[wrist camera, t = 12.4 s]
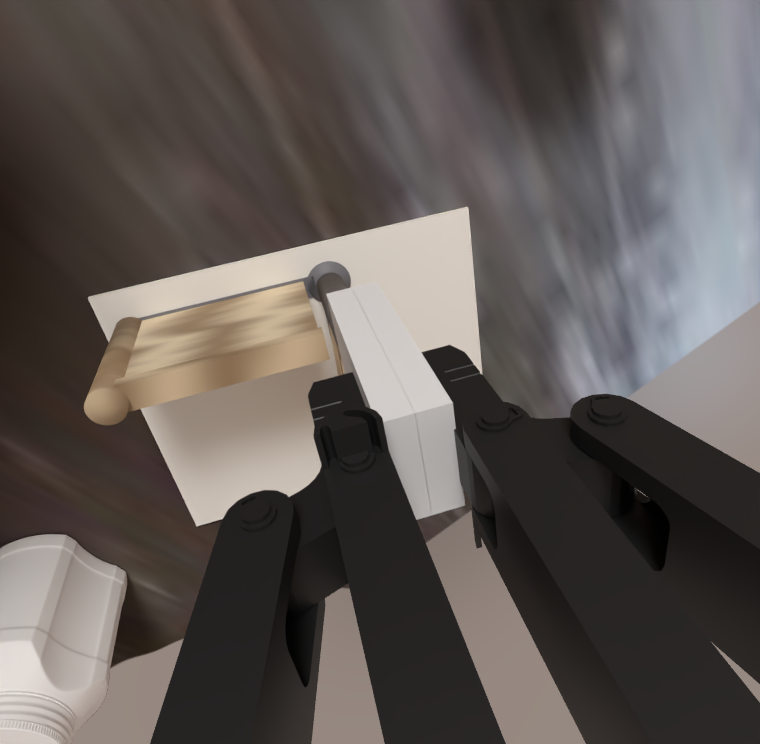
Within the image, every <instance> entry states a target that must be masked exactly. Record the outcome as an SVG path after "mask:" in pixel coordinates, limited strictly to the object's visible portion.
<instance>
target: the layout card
mask: <svg viewBox="0 0 760 744" xmlns="http://www.w3.org/2000/svg"><path fill="white" fill-rule="evenodd" d="M326 273H336V274H338V275H340V276H341V277H342V279H343V281H344V283H345V285H346V287H347V289H348V288H352V287H356V286H360V285H364V284H368V283H372V282H376V281H377V282H378V284H379V286H380V287H381V289H382V290H383V292H384V294H385V295H386V297H387V298H388V300H389V302H390V303H391V305H392V306H393V308H394V310H395V311H396V313H397V314H398V316H399V318H400V319H401V321H402V322H403V324H404V326H405V327H406V329H407V330H408V332H409V334H410V335H411V337H412V338H413V340H414V342H415V343H416V345H417V346H418V348H419V350H420V351H421V352H424V351H428V350H432V349H436V348H439V347H443V346H447V345H451V346H453V347H455V348H458V349H460V350H462V351H464V352H465V353H466V354H467V355H468V357H469V358H470V359H471V361H472V362H473V364H474V365H475V366H476V367H477V369H478V370H479V371H480V374H482V366H481V354H480V342H479V330H478V318H477V306H476V294H475V282H474V270H473V258H472V246H471V234H470V222H469V210H468V207H464V208H459V209H455V210H451V211H447V212H443V213H438V214H434V215H430V216H426V217H422V218H417V219H413V220H409V221H405V222H401V223H396V224H392V225H388V226H384V227H379V228H375V229H371V230H367V231H363V232H358V233H354V234H350V235H346V236H342V237H337V238H333V239H329V240H325V241H321V242H316V243H312V244H308V245H304V246H299V247H295V248H291V249H287V250H283V251H278V252H274V253H270V254H266V255H262V256H257V257H253V258H249V259H245V260H241V261H236V262H232V263H228V264H224V265H220V266H215V267H211V268H207V269H203V270H198V271H194V272H190V273H186V274H182V275H177V276H173V277H169V278H165V279H161V280H156V281H152V282H148V283H144V284H140V285H135V286H131V287H127V288H123V289H118V290H114V291H110V292H106V293H102V294H97V295H93V296H89V297H88V300H89V302H90V304H91V306H92V308H93V310H94V312H95V315H96V317H97V319H98V321H99V323H100V325H101V327H102V329H103V331H104V333H105V335H106V338H107V340H108V342H109V341H110V339H111V336H112V334H113V331H114V329H115V326H116V324H117V323H118V321H120V320H121V319H123V318H126V317H135V318H138V319H140V320H146V319H150V318H155V317H159V316H163V315H167V314H171V313H175V312H179V311H183V310H187V309H191V308H195V307H200V306H204V305H208V304H212V303H216V302H220V301H224V300H228V299H232V298H236V297H240V296H245V295H249V294H253V293H257V292H261V291H265V290H269V289H273V288H277V287H281V286H285V285H290V284H294V283H298V282H302V281H303V283H304V286H305V289H306V292H307V295H308V298H309V302H310V305H311V308H312V311H313V314H314V318H315V321H316V324H317V327H318V328H320V327H321V328H322V331H323V334H324V338H325V342H326V346H327V350H328V354H329V358H330V359H329V360H326V361H322V362H318V363H314V364H310V365H306V366H303V367H299V368H295V369H291V370H287V371H283V372H280V373H276V374H272V375H268V376H264V377H260V378H257V379H253V380H249V381H245V382H241V383H237V384H234V385H230V386H226V387H222V388H218V389H214V390H211V391H207V392H203V393H199V394H195V395H191V396H188V397H184V398H180V399H176V400H172V401H168V402H165V403H161V404H157V405H153V406H149V407H145V408H142V409H141V411H142V413H143V415H144V417H145V419H146V421H147V423H148V425H149V428H150V430H151V432H152V434H153V436H154V438H155V440H156V442H157V444H158V446H159V448H160V451H161V453H162V455H163V457H164V459H165V461H166V463H167V465H168V467H169V469H170V471H171V474H172V476H173V478H174V480H175V482H176V484H177V486H178V488H179V490H180V492H181V494H182V497H183V499H184V501H185V503H186V505H187V507H188V509H189V511H190V513H191V515H192V517H193V520H194V522H195V524H196V526H200V525H203V524H207V523H210V522H214V521H217V520H221V519H223V518H224V516H225V514H226V512H227V511H228V509H229V508H230V507H231V506H233V505H234V504H235V503H236V502H237V501H238V500H240V499H241V498H243V497H245V496H247V495H249V494H251V493H255V492H259V491H263V490H277V491H279V492H282V493H284V494H287V495H288V497H290V496H292V495H293V494H295V493H297V492H299V491H300V490H302V489H303V488H305V487H306V486H308V485H309V484H310V483H311V482H312V481H313V480H314V479H315V478H316V476H317V475H318V473H319V472H320V469H321V466H322V465H321V461H320V458H319V455H318V451H317V448H316V444H315V441H314V437H313V435H314V428H315V426H314V422H313V417H312V413H311V408H310V404H309V399H308V394H309V391H310V389H311V387H312V384H313V382H317V381H320V380H324V379H328V378H332V377H335V376H338V373H337V367H336V361H335V356H334V350H333V345H332V339H331V334H330V328H329V322H328V319H327V316H326V313H325V311H324V308H323V305H322V302H321V299H320V297H319V294H318V291H317V281H318V279H319V278H320V277H321V276H322V275H324V274H326Z"/></svg>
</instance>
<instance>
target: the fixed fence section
mask: <svg viewBox="0 0 760 744" xmlns="http://www.w3.org/2000/svg"><path fill="white" fill-rule="evenodd" d="M329 359H330V358H329V354H328V350H327V346H326V342H325V338H324V334H323V331H322V328H321V327H320V328H318V327H317V324H316V321H315V318H314V314H313V311H312V308H311V305H310V302H309V298H308V295H307V292H306V289H305V286H304V283H303V281H302V282H298V283H294V284H290V285H285V286H281V287H277V288H273V289H269V290H265V291H261V292H257V293H253V294H249V295H245V296H240V297H236V298H232V299H228V300H224V301H220V302H216V303H212V304H208V305H204V306H200V307H195V308H191V309H187V310H183V311H179V312H175V313H171V314H167V315H163V316H159V317H155V318H150V319H146V320H140V319H138V318H135V317H126V318H123V319H121V320H120V321H118V323H117V324H116V326H115V329H114V331H113V334H112V336H111V339H110V341H109V344H108V346H107V349H106V351H105V354H104V356H103V359H102V361H101V364H100V366H99V369H98V371H97V374H96V376H95V378H94V381H93V383H92V386H91V388H90V391H89V393H88V396H87V398H86V401H85V404H84V410H85V413H86V415H87V416H88V417H89V418H90V419H91V420H92V421H94V422H96V423H98V424H102V425H113V424H117V423H119V422H121V421H122V420H123V419H124V418H125V417H126V415H127V412H130V411H134V410H138V409H142V408H145V407H149V406H153V405H157V404H161V403H165V402H168V401H172V400H176V399H180V398H184V397H188V396H191V395H195V394H199V393H203V392H207V391H211V390H214V389H218V388H222V387H226V386H230V385H234V384H237V383H241V382H245V381H249V380H253V379H257V378H260V377H264V376H268V375H272V374H276V373H280V372H283V371H287V370H291V369H295V368H299V367H303V366H306V365H310V364H314V363H318V362H322V361H326V360H329Z"/></svg>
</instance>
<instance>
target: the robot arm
mask: <svg viewBox="0 0 760 744" xmlns="http://www.w3.org/2000/svg"><path fill="white" fill-rule="evenodd" d="M326 295H327V300H328V304H329V308H330V312H331V317H332V321H333V325H334V329H335V334H336V338H337V342H338V346H339V351H340V355H341V359H342V364H343V368H344V372H345V374H343V375H339V376H335V377H332V378H328V379H324V380H320V381H317V382H313V384H312V387H311V389H310V391H309V394H308V399H309V404H310V408H311V413H312V417H313V422H314V426H315V428H314V435H313V437H314V441H315V444H316V448H317V451H318V455H319V458H320V461H321V465H322V466H321V469H320V472H319V473H318V475H317V476H316V478H315V479H314V480H313V481H312V482H311V483H310V484H309V485H308V486H306V487H305V488H303V489H302V490H300V491H299V492H297V493H295V494H293V495H292V496H290V497H288V495H287V494H284V493H282V492H279V491H277V490H263V491H259V492H255V493H251V494H249V495H247V496H245V497H243V498H241V499H240V500H238V501H237V502H236V503H235V504H234V505H233V506H231V507H230V508H229V509H228V511H227V512H226V514H225V516H224V518H223V520H222V522H221V525H220V528H219V531H218V535H217V538H216V541H215V544H214V547H213V550H212V553H211V556H210V559H209V563H208V566H207V569H206V572H205V575H204V578H203V581H202V584H201V587H200V590H199V594H198V597H197V600H196V603H195V606H194V609H193V612H192V615H191V618H190V621H189V625H188V628H187V631H186V634H185V637H184V640H183V643H182V646H181V650H180V653H179V656H178V659H177V662H176V665H175V668H174V671H173V674H172V678H171V681H170V684H169V687H168V690H167V693H166V696H165V699H164V702H163V705H162V709H161V712H160V715H159V718H158V721H157V724H156V727H155V730H154V733H153V737H152V739H151V743H150V744H311V741H312V731H313V721H314V711H315V701H316V691H317V681H318V672H319V662H320V652H321V642H322V632H323V621H324V612H325V598H326V597H327V596H329V595H330V594H332V593H334V592H335V591H337V590H338V589H340V588H341V587H343V586H344V585H346V584H348V583H349V587H350V592H351V596H352V600H353V605H354V609H355V614H356V618H357V623H358V627H359V631H360V636H361V640H362V645H363V649H364V653H365V658H366V662H367V667H368V671H369V676H370V680H371V685H372V689H373V693H374V698H375V702H376V706H377V711H378V715H379V720H380V725H381V729H382V733H383V737H384V742H385V744H506V743H505V741H504V738H503V736H502V734H501V731H500V729H499V726H498V723H497V721H496V718H495V716H494V713H493V711H492V708H491V706H490V703H489V701H488V698H487V696H486V693H485V691H484V688H483V686H482V683H481V681H480V678H479V676H478V673H477V671H476V668H475V666H474V663H473V661H472V658H471V656H470V653H469V651H468V648H467V646H466V643H465V641H464V638H463V636H462V633H461V631H460V629H459V626H458V623H457V621H456V618H455V616H454V613H453V611H452V608H451V605H450V603H449V601H448V598H447V596H446V593H445V590H444V588H443V586H442V583H441V580H440V578H439V575H438V573H437V570H436V568H435V566H434V563H433V560H432V558H431V555H430V553H429V550H428V548H427V546H426V543H425V540H424V538H423V535H422V533H421V530H420V528H419V525H418V523H417V520H418V519H421V518H424V517H428V516H431V515H434V514H438V513H441V512H444V511H448V510H451V509H455V508H458V507H461V506H465V501H464V492H463V489H464V491H465V493H466V494H467V496H468V498H469V500H470V502H471V509H472V518H473V526H474V535H475V542H476V547H477V548H480V547H482V543H481V538H482V540H483V541H484V544H485V546H486V548H487V550H488V552H489V554H490V555H491V558H492V560H493V561H494V563H495V565H496V567H497V569H498V571H499V573H500V575H501V577H502V579H503V581H504V583H505V585H506V587H507V589H508V591H509V593H510V595H511V597H512V599H513V601H514V603H515V605H516V607H517V609H518V611H519V613H520V615H521V617H522V618H523V621H524V622H525V624H526V626H527V628H528V630H529V632H530V634H531V636H532V638H533V640H534V642H535V644H536V646H537V648H538V650H539V652H540V654H541V656H542V658H543V660H544V662H545V663H546V666H547V668H548V670H549V672H550V674H551V676H552V678H553V679H554V681H555V684H556V685H557V687H558V689H559V691H560V693H561V695H562V697H563V699H564V701H565V703H566V705H567V707H568V709H569V711H570V713H571V715H572V717H573V719H574V721H575V723H576V725H577V727H578V729H579V731H580V733H581V734H582V737H583V739H584V741H585V743H586V744H760V703H759V701H758V700H757V699H756V698H755V696H754V695H753V694H752V693H751V691H750V690H749V689H748V688H747V686H746V685H745V684H744V683H743V681H742V680H741V679H740V678H739V676H738V675H737V674H736V673H735V672H734V670H733V669H732V668H731V667H730V665H729V664H728V663H727V661H726V660H725V659H724V658H723V656H722V655H721V654H720V653H719V651H718V650H717V649H716V648H715V646H714V645H713V644H715V645H716V646H717V647H718V648H719V649H720V650H721V651H723V652H724V653H725V654H726V655H727V656H728V657H730V658H731V659H732V660H733V661H734V662H735V663H736V664H738V665H739V666H740V667H741V668H742V669H743V670H744V671H745V672H747V673H748V674H749V675H750V676H751V677H753V678H754V679H755V680H756V681H757V682H758V683H759V684H760V473H759V472H756V471H755V470H753V469H752V468H750V467H748V466H746V465H745V464H743V463H741V462H739V461H737V460H736V459H734V458H732V457H730V456H728V455H727V454H725V453H723V452H722V451H720V450H718V449H716V448H714V447H713V446H711V445H709V444H708V443H705V442H704V441H702V440H700V439H699V438H697V437H695V436H693V435H692V434H690V433H688V432H686V431H684V430H683V429H681V428H679V427H677V426H676V425H674V424H672V423H670V422H669V421H667V420H665V419H664V418H662V417H660V416H658V415H656V414H655V413H653V412H651V411H649V410H648V409H646V408H644V407H642V406H640V405H639V404H637V403H635V402H634V401H631V400H629V399H626V398H624V397H621V396H616V395H610V394H599V395H591V396H588V397H585V398H582V399H580V400H579V401H578V402H576V403H575V404H574V405H573V407H572V409H571V412H570V418H553V419H536V418H531V417H530V416H529V415H528V414H527V412H525V411H524V410H523V409H522V408H520V407H519V406H517V405H514V404H511V403H508V402H503V401H502V400H501V398H500V397H499V396H498V395H497V393H496V392H495V391H494V389H493V388H492V387H491V385H490V384H489V383H488V382H487V380H486V379H485V378H484V376H483V375H482V374H480V371H479V370H478V369H477V367H476V366H475V365H474V364H473V362H472V361H471V359H470V358H469V357H468V355H467V354H466V353H465V352H464V351H462V350H460V349H458V348H455V347H453V346H451V345H447V346H443V347H439V348H436V349H432V350H428V351H424V352H421V351H420V350H419V348H418V346H417V345H416V343H415V342H414V340H413V338H412V337H411V335H410V334H409V332H408V330H407V329H406V327H405V326H404V324H403V322H402V321H401V319H400V318H399V316H398V314H397V313H396V311H395V310H394V308H393V306H392V305H391V303H390V302H389V300H388V298H387V297H386V295H385V294H384V292H383V290H382V289H381V287H380V286H379V284H378V282H377V281H376V282H372V283H368V284H364V285H360V286H356V287H352V288H348V289H344V290H339V291H335V292H331V293H327V294H326ZM637 489H638V490H639V491H641V492H642V493H643V494H645V495H646V496H645V495H643V494H642V493H640V492H639V491H638V490H637ZM647 496H648V497H647ZM710 641H711V642H712V643H713V644H712V643H711V642H710Z"/></svg>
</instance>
